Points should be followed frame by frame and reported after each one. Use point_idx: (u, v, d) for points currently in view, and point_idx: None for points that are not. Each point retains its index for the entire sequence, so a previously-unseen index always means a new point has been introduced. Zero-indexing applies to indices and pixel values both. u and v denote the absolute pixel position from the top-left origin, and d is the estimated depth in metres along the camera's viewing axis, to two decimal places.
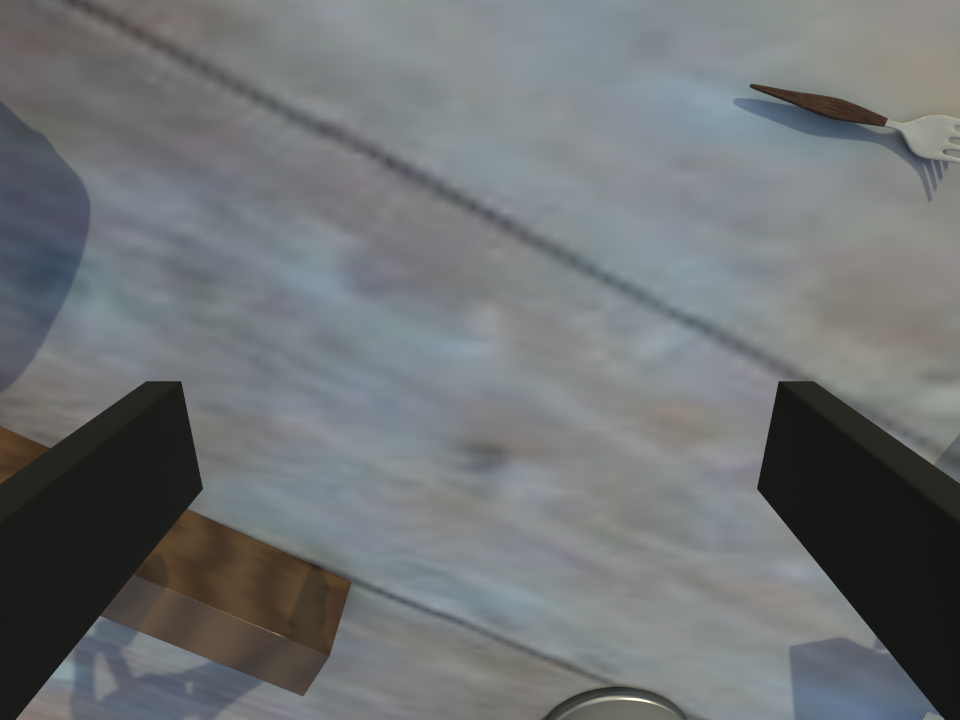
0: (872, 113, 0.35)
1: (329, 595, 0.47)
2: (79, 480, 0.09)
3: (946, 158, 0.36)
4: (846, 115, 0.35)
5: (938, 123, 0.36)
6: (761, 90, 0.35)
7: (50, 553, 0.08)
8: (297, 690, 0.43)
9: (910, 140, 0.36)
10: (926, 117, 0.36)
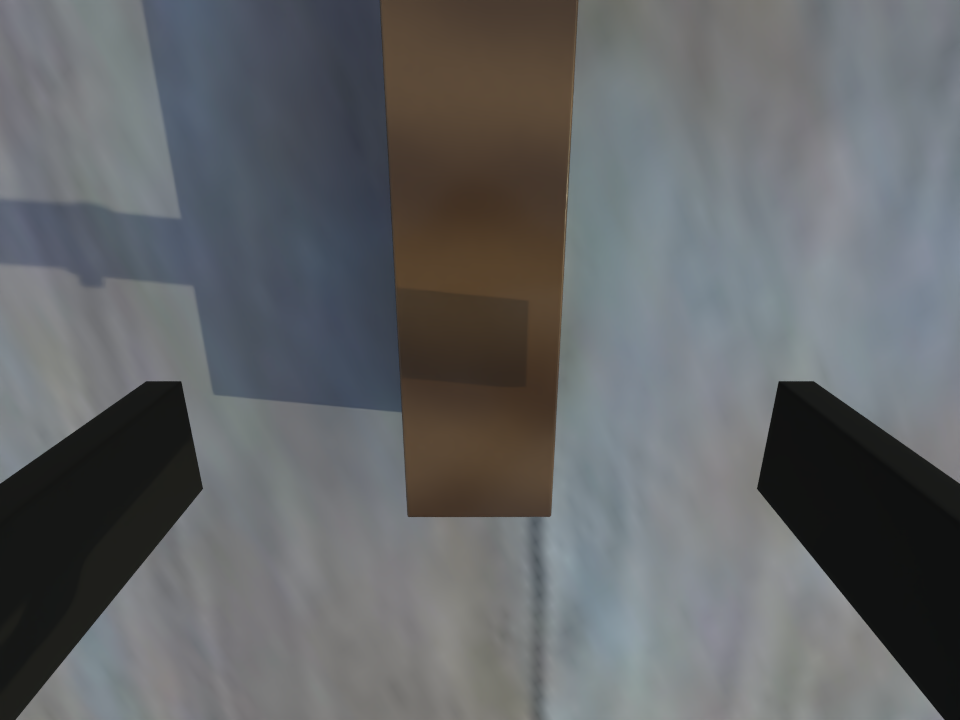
0: None
1: None
2: (79, 480, 0.09)
3: None
4: None
5: None
6: None
7: (50, 553, 0.08)
8: (418, 500, 0.19)
9: None
10: None
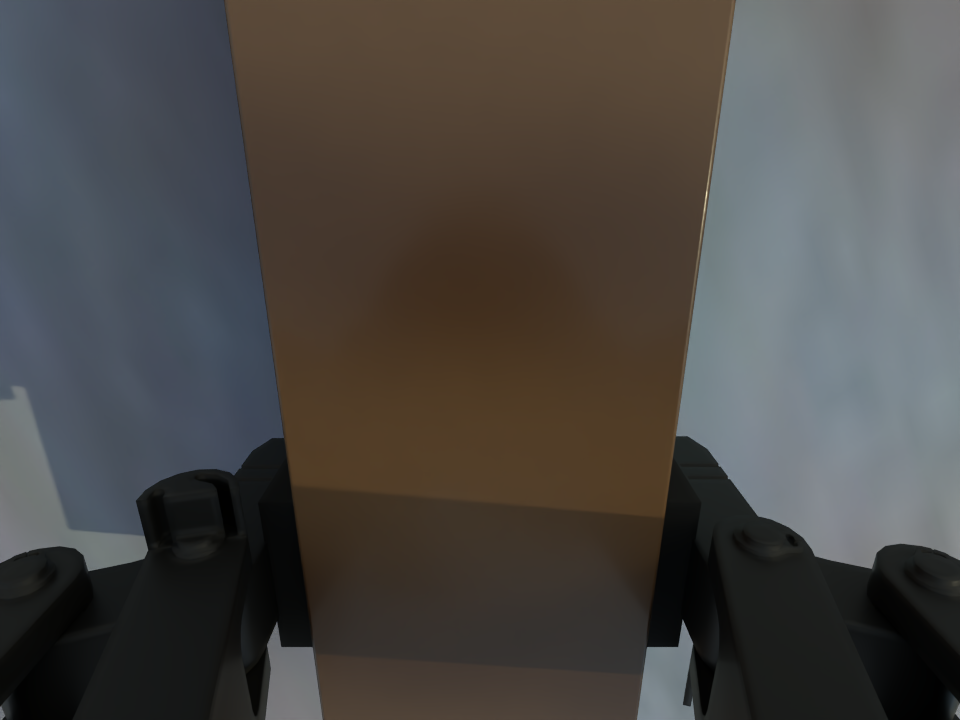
0: None
1: None
2: None
3: None
4: None
5: None
6: None
7: None
8: None
9: None
10: None
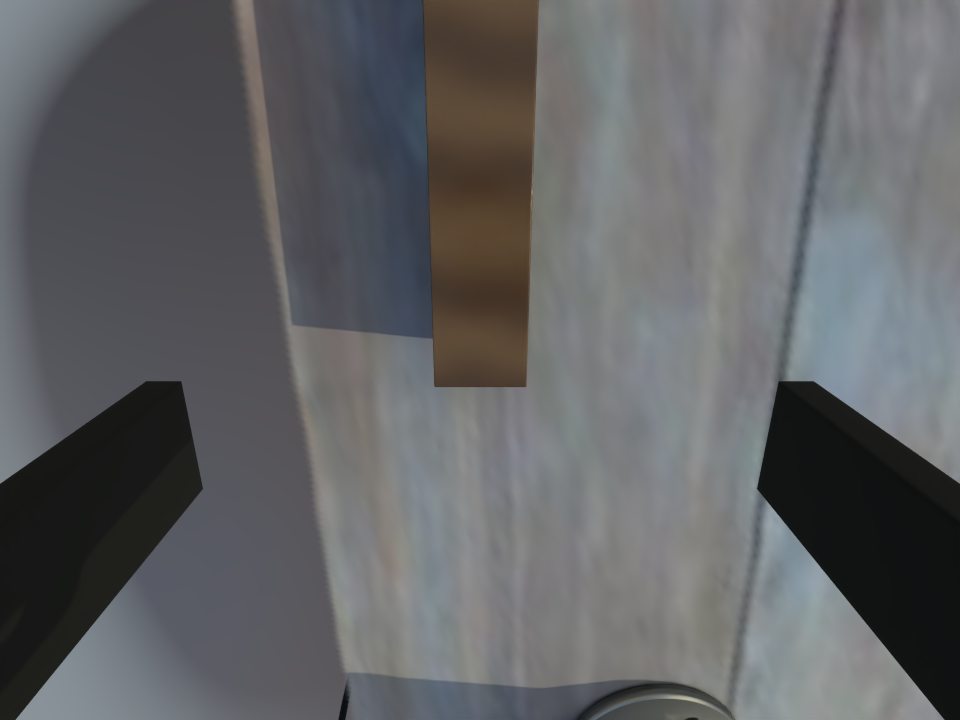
0: None
1: None
2: (79, 480, 0.09)
3: None
4: None
5: None
6: None
7: (50, 553, 0.08)
8: (441, 375, 0.29)
9: None
10: None
